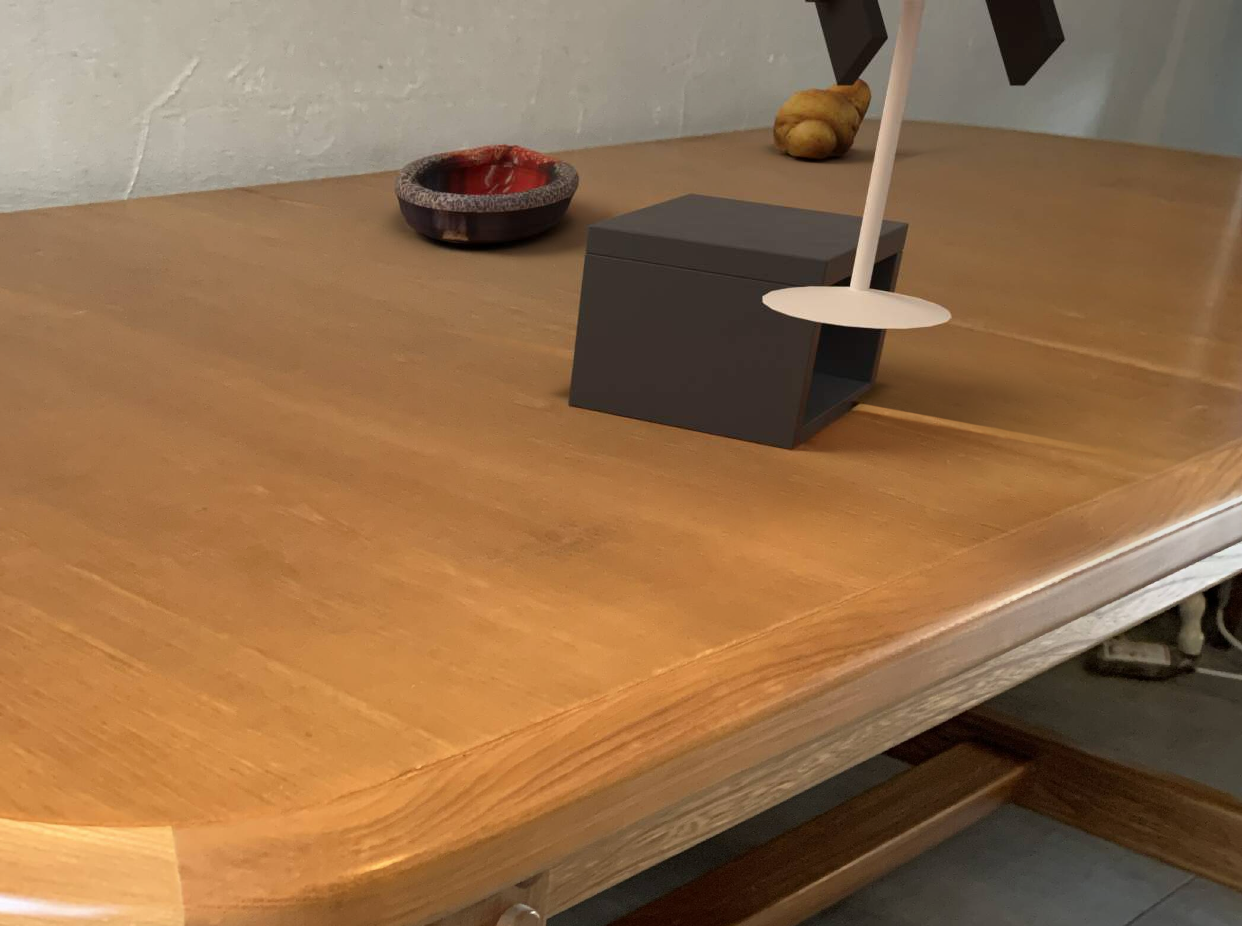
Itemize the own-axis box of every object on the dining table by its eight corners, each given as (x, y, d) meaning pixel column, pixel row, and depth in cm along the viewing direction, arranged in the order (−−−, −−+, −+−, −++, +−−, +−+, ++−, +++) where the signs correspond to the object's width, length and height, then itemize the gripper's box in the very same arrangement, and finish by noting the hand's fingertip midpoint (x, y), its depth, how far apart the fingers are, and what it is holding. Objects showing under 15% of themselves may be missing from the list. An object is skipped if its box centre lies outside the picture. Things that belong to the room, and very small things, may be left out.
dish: (355, 245, 138) (357, 179, 136) (441, 189, 163) (444, 132, 160) (539, 263, 135) (546, 196, 132) (599, 204, 160) (605, 146, 157)
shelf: (873, 395, 105) (909, 223, 100) (791, 450, 94) (827, 260, 89) (666, 357, 111) (689, 193, 106) (567, 405, 100) (587, 224, 95)
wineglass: (740, 317, 76) (841, -326, 63) (772, 276, 84) (868, -303, 71) (950, 341, 73) (1100, -324, 60) (963, 296, 81) (1097, -300, 68)
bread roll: (833, 166, 187) (848, 85, 182) (750, 157, 191) (762, 77, 186) (865, 154, 196) (880, 77, 192) (784, 145, 200) (797, 69, 196)
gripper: (970, -300, 80) (1096, 123, 76) (573, -330, 74) (690, 126, 71) (1072, -460, 73) (1217, -2, 69) (643, -507, 67) (776, -11, 64)
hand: (951, 62), depth 70 cm, fingers closed on wineglass, 8 cm apart
